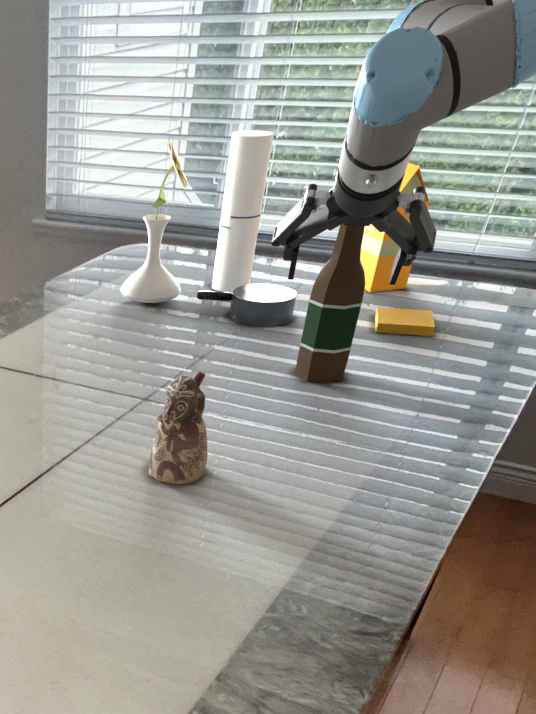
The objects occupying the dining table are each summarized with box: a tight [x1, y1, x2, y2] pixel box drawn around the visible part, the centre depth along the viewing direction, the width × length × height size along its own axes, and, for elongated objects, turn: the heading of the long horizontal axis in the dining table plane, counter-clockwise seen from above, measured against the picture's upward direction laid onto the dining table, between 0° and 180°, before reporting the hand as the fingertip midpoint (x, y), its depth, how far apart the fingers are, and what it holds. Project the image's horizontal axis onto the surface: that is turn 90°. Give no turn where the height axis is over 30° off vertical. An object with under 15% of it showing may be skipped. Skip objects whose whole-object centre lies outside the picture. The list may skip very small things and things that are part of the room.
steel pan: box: [196, 283, 298, 328], centre depth 150 cm, size 17×11×4 cm, turn 72°
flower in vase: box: [119, 139, 189, 304], centre depth 153 cm, size 13×11×25 cm
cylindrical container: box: [211, 129, 275, 293], centre depth 156 cm, size 7×7×25 cm
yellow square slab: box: [374, 306, 436, 337], centre depth 145 cm, size 9×9×2 cm
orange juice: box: [360, 162, 430, 293], centre depth 157 cm, size 8×9×20 cm
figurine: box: [148, 370, 208, 485], centre depth 103 cm, size 7×7×12 cm
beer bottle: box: [294, 223, 366, 384], centre depth 122 cm, size 8×8×24 cm
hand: (342, 273), depth 118 cm, fingers open, 13 cm apart
